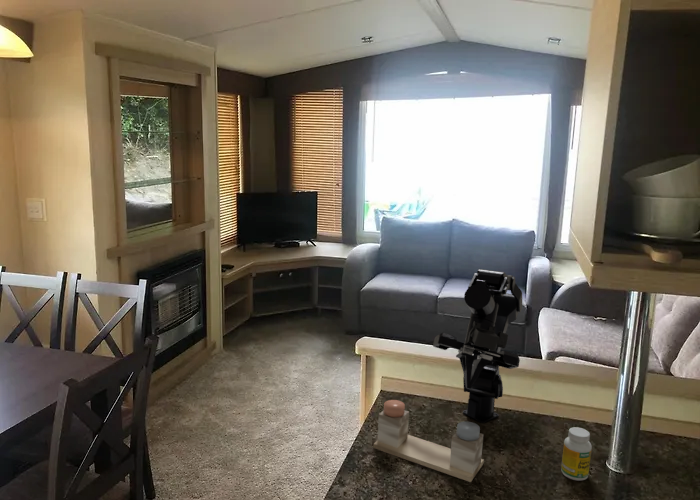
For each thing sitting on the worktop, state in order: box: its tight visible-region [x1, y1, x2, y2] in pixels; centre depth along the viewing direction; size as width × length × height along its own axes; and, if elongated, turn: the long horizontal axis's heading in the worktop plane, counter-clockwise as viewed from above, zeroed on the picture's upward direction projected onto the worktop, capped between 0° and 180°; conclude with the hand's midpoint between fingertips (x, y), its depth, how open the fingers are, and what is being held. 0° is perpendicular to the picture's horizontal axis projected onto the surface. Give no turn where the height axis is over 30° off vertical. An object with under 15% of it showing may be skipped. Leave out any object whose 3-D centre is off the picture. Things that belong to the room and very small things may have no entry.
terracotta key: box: [383, 399, 406, 417], centre depth 126 cm, size 5×5×3 cm
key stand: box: [372, 409, 485, 483], centre depth 123 cm, size 8×22×8 cm, turn 59°
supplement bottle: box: [560, 426, 593, 482], centre depth 117 cm, size 5×5×10 cm
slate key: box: [456, 420, 481, 441], centre depth 117 cm, size 5×5×3 cm
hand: (468, 388), depth 126 cm, fingers closed
